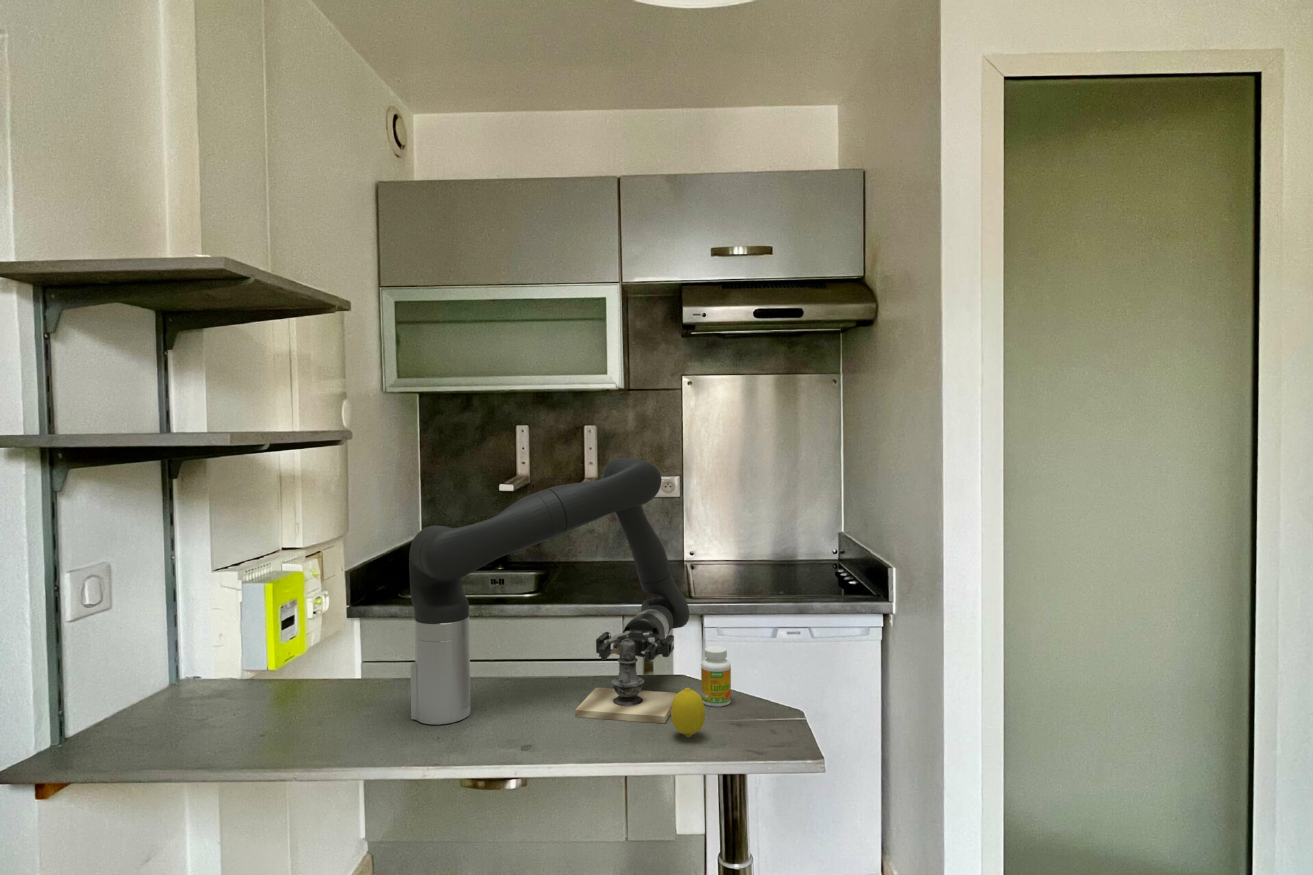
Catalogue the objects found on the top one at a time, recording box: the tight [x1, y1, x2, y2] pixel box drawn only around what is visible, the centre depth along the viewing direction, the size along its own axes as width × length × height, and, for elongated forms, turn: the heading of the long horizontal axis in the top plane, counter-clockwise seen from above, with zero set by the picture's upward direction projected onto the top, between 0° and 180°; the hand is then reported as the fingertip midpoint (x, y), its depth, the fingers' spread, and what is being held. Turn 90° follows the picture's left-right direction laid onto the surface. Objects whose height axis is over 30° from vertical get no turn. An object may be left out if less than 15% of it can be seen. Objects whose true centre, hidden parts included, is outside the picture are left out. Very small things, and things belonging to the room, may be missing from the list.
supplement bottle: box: [700, 645, 732, 708], centre depth 139 cm, size 5×5×10 cm
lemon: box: [670, 687, 706, 738], centre depth 123 cm, size 6×6×8 cm
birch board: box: [574, 687, 679, 724], centre depth 137 cm, size 16×12×1 cm
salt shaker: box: [611, 634, 645, 706], centre depth 137 cm, size 6×6×12 cm
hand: (624, 655), depth 135 cm, fingers open, 7 cm apart
